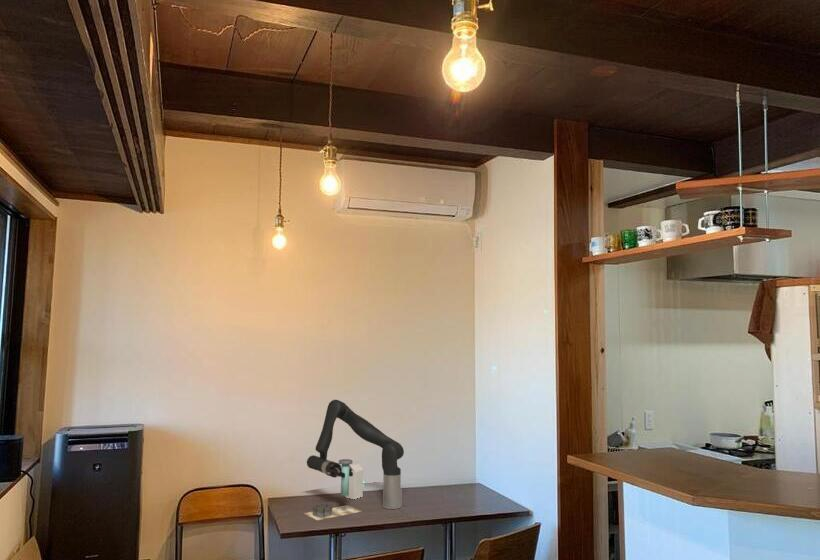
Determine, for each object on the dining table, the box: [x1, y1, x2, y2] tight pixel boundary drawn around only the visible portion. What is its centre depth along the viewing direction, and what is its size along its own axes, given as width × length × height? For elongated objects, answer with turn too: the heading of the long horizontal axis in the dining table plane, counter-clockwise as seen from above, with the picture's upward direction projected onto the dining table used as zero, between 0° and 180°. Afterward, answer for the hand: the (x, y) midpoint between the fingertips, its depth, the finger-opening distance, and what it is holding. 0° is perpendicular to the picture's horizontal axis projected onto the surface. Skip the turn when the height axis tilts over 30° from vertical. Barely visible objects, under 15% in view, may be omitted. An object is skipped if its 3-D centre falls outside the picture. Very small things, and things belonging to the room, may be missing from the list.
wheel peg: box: [338, 458, 354, 497], centre depth 311 cm, size 7×7×17 cm
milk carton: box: [344, 461, 364, 500], centre depth 341 cm, size 7×7×19 cm
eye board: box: [303, 503, 363, 521], centre depth 306 cm, size 26×14×6 cm, turn 128°
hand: (348, 474), depth 309 cm, fingers closed on wheel peg, 4 cm apart
